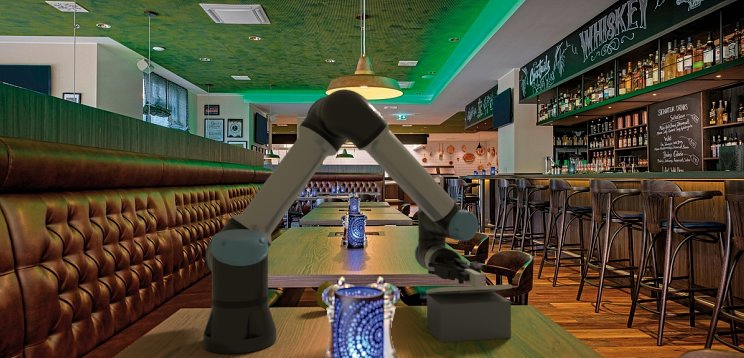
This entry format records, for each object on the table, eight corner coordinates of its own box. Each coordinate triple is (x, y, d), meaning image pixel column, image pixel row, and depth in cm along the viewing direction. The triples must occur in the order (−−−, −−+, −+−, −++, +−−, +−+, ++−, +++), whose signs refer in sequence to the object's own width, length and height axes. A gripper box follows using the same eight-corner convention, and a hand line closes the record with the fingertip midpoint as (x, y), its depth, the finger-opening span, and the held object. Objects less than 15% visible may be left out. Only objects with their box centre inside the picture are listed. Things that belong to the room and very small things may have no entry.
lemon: (334, 314, 129) (334, 283, 129) (313, 313, 130) (313, 282, 130) (340, 309, 134) (340, 279, 134) (320, 308, 135) (320, 278, 135)
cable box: (440, 342, 107) (440, 304, 107) (427, 328, 117) (426, 294, 117) (510, 337, 110) (510, 301, 110) (491, 324, 120) (491, 291, 120)
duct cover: (439, 291, 107) (439, 287, 107) (426, 293, 117) (425, 290, 117) (511, 288, 110) (511, 284, 110) (492, 290, 120) (492, 287, 120)
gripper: (467, 275, 131) (507, 296, 108) (418, 277, 129) (449, 299, 106) (467, 247, 131) (507, 262, 108) (418, 248, 129) (449, 264, 106)
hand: (478, 280), depth 107 cm, fingers closed
